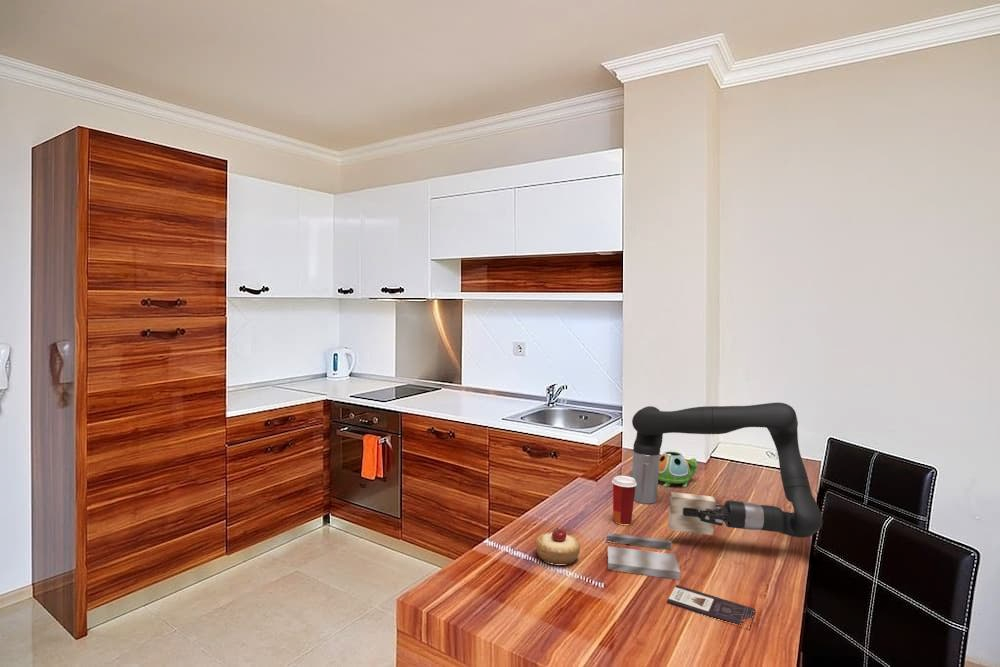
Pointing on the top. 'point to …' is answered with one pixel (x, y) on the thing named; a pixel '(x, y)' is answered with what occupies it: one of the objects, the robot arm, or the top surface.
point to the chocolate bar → (709, 605)
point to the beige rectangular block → (688, 522)
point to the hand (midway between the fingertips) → (682, 508)
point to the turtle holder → (675, 468)
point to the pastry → (557, 547)
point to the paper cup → (623, 498)
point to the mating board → (642, 557)
